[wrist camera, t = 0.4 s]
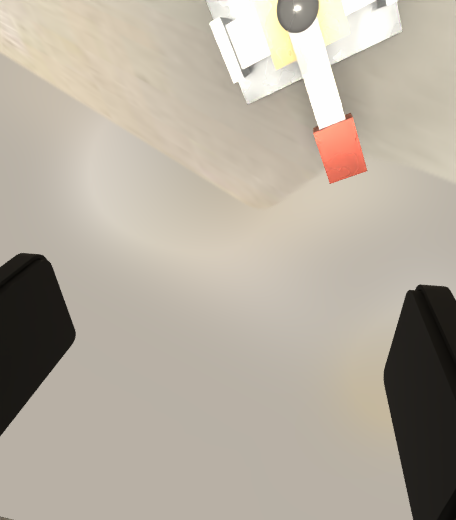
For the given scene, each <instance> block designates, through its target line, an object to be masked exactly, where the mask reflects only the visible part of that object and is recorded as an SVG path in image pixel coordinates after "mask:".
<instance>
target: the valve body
mask: <svg viewBox="0 0 456 520" xmlns="http://www.w3.org/2000/svg"><path fill="white" fill-rule="evenodd" d="M397 1H398V0H319V10H318V14H317V20H318V23H319V27H320V31H321V34H322V38H323V41H324V45H325V48H326V52H327V55H328V59H329V62H330V65H332V64H334V63H336V62H339V61H341V60H343V59H345V58H347V57H349V56H351V55H353V54H355V53H358V52H360V51H362V50H364V49H366V48H368V47H370V46H372V45H374V44H377V43H379V42H381V41H383V40H385V39H387V38H389V37H391V36H394V35H396V34H398V33H400V32H402V26H401V20H400V15H399V10H398V4H397ZM206 2H207V5H208V8H209V10H210V13H211V15H212V18H213V21H212V22H210V23H209V24H210V26H211V29H212V31H213V34H214V36H215V39H216V41H217V44H218V46H219V48H220V51H221V53H222V56H223V58H224V61H225V63H226V66H227V68H228V71H229V73H230V76H231V78H232V81H233V83H236V82H238V83H239V85H240V88H241V90H242V93H243V95H244V98H245V100H246V103H247V105H248V104H250V103H252V102H254V101H256V100H258V99H260V98H262V97H265V96H267V95H269V94H271V93H273V92H275V91H277V90H279V89H281V88H284V87H286V86H288V85H290V84H292V83H294V82H296V81H298V80H300V79H303V76H302V73H301V70H300V67H299V64H298V61H297V57H296V54H295V51H294V48H293V45H292V42H291V39H290V36H289V32H288V31H286V30H285V29H283V28H282V26H281V25H280V23H279V21H278V18H277V13H276V8H277V2H278V0H206Z"/></svg>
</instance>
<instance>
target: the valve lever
mask: <svg viewBox="0 0 456 520" xmlns="http://www.w3.org/2000/svg"><path fill="white" fill-rule="evenodd" d="M318 10H319V0H278V2H277V8H276V13H277V18H278V21H279V23H280V25H281V26H282V28H283V29H285V30H286V31H288V32H289V36H290V39H291V42H292V45H293V48H294V51H295V54H296V57H297V61H298V64H299V67H300V70H301V73H302V76H303V79H304V83H305V86H306V89H307V92H308V95H309V98H310V101H311V104H312V108H313V111H314V114H315V117H316V120H317V123H318V126H317V127H315V128H313V134H314V137H315V140H316V143H317V146H318V149H319V152H320V155H321V158H322V161H323V164H324V167H325V170H326V173H327V176H328V179H329V182H330V184H331V183H334V182H337V181H339V180H342V179H345V178H348V177H351V176H354V175H357V174H360V173H363V172H366V171H367V168H366V164H365V161H364V157H363V153H362V150H361V146H360V142H359V139H358V135H357V131H356V128H355V124H354V120H353V117H352V115H351V113H349V114H346V115H344V112H343V108H342V105H341V101H340V98H339V94H338V91H337V87H336V84H335V80H334V77H333V73H332V70H331V66H330V62H329V59H328V55H327V52H326V48H325V45H324V41H323V38H322V34H321V31H320V27H319V23H318V20H317V14H318Z"/></svg>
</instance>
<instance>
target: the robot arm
mask: <svg viewBox="0 0 456 520" xmlns="http://www.w3.org/2000/svg"><path fill="white" fill-rule="evenodd" d="M75 336H76V332H75V329H74V326H73V324H72V320H71V318H70V315H69V312H68V309H67V306H66V304H65V301H64V298H63V296H62V293H61V290H60V287H59V284H58V281H57V279H56V276H55V273H54V270H53V268H52V265H51V263H50V262H49V261H47V259H46V258H45V257H44V256H43V255H39V254H27V253H20V254H18V255H16V256H15V257H13V258H12V259H11V260H9V261H8V262H7V263H5V264H4V265H3V266H1V267H0V436H1V434H2V433H3V432H4V431H5V429H6V428H7V427H8V426H9V424H10V423H11V422H12V420H13V419H14V418H15V417H16V415H17V414H18V413H19V411H20V410H21V409H22V408H23V406H24V405H25V404H26V403H27V401H28V400H29V399H30V397H31V396H32V395H33V394H34V392H35V391H36V390H37V388H38V387H39V386H40V385H41V383H42V382H43V381H44V380H45V378H46V377H47V376H48V374H49V373H50V372H51V371H52V369H53V368H54V367H55V365H56V364H57V363H58V362H59V360H60V359H61V358H62V357H63V355H64V354H65V353H66V351H67V350H68V349H69V348H70V346H71V345H72V344H73V342H74V340H75ZM384 385H385V390H386V395H387V399H388V404H389V408H390V413H391V418H392V423H393V427H394V432H395V437H396V441H397V446H398V451H399V455H400V460H401V465H402V469H403V474H404V479H405V483H406V488H407V492H408V497H409V502H410V507H411V511H412V516H413V520H456V300H455V298H454V296H453V295H452V293H451V291H450V290H449V288H448V287H444V286H431V285H418V286H417V287H416V289H415V290H409V291H408V292H407V294H406V297H405V300H404V303H403V307H402V310H401V314H400V317H399V321H398V324H397V327H396V331H395V334H394V338H393V341H392V345H391V348H390V352H389V355H388V359H387V362H386V365H385V369H384ZM0 520H12V519H8V518H4V517H0Z"/></svg>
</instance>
